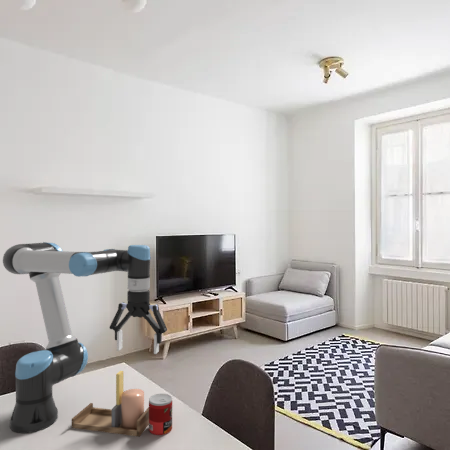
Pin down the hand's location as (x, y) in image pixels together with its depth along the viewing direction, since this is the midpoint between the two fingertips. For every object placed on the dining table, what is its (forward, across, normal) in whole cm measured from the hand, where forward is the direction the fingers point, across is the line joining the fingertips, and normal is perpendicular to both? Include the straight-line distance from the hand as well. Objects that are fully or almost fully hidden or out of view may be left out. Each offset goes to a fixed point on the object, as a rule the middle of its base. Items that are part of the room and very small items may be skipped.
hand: (137, 351), depth 130 cm
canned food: (+26, +9, -1) cm, 28 cm away
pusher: (+26, -6, -1) cm, 27 cm away
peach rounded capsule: (+26, -1, -1) cm, 26 cm away
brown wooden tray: (+26, -8, 0) cm, 28 cm away
